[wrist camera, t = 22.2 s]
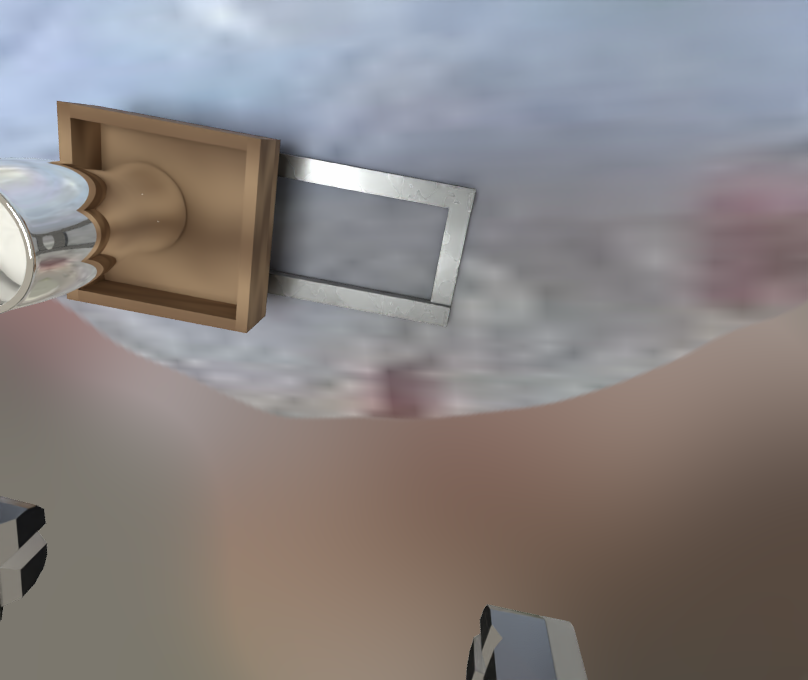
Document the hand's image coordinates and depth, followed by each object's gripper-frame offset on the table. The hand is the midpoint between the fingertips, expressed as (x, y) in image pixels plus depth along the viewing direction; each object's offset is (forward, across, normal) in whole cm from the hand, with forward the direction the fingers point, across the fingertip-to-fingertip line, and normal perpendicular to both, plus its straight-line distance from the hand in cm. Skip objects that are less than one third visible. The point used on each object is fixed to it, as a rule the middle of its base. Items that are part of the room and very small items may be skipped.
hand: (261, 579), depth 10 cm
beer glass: (+29, +18, 0) cm, 34 cm away
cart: (+32, +16, +1) cm, 36 cm away
